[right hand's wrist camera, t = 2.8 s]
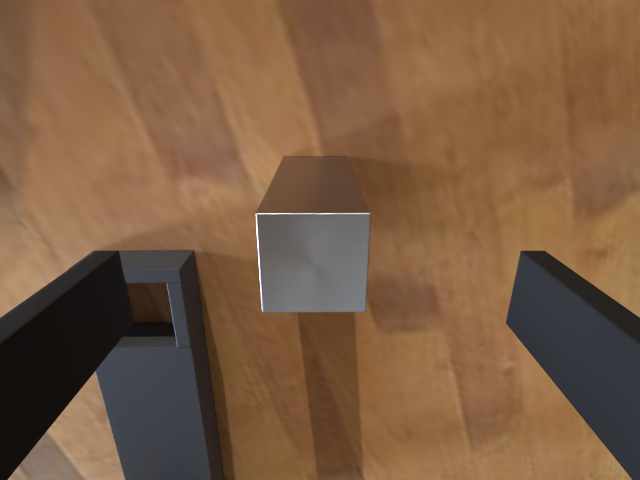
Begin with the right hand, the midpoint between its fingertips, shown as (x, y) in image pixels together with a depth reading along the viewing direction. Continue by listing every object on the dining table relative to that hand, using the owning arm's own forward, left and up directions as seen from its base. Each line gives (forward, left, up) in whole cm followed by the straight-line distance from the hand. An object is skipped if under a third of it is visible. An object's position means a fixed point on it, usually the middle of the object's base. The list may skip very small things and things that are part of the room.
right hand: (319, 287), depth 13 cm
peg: (0, 0, -13) cm, 13 cm away
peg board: (-12, -17, -13) cm, 25 cm away
